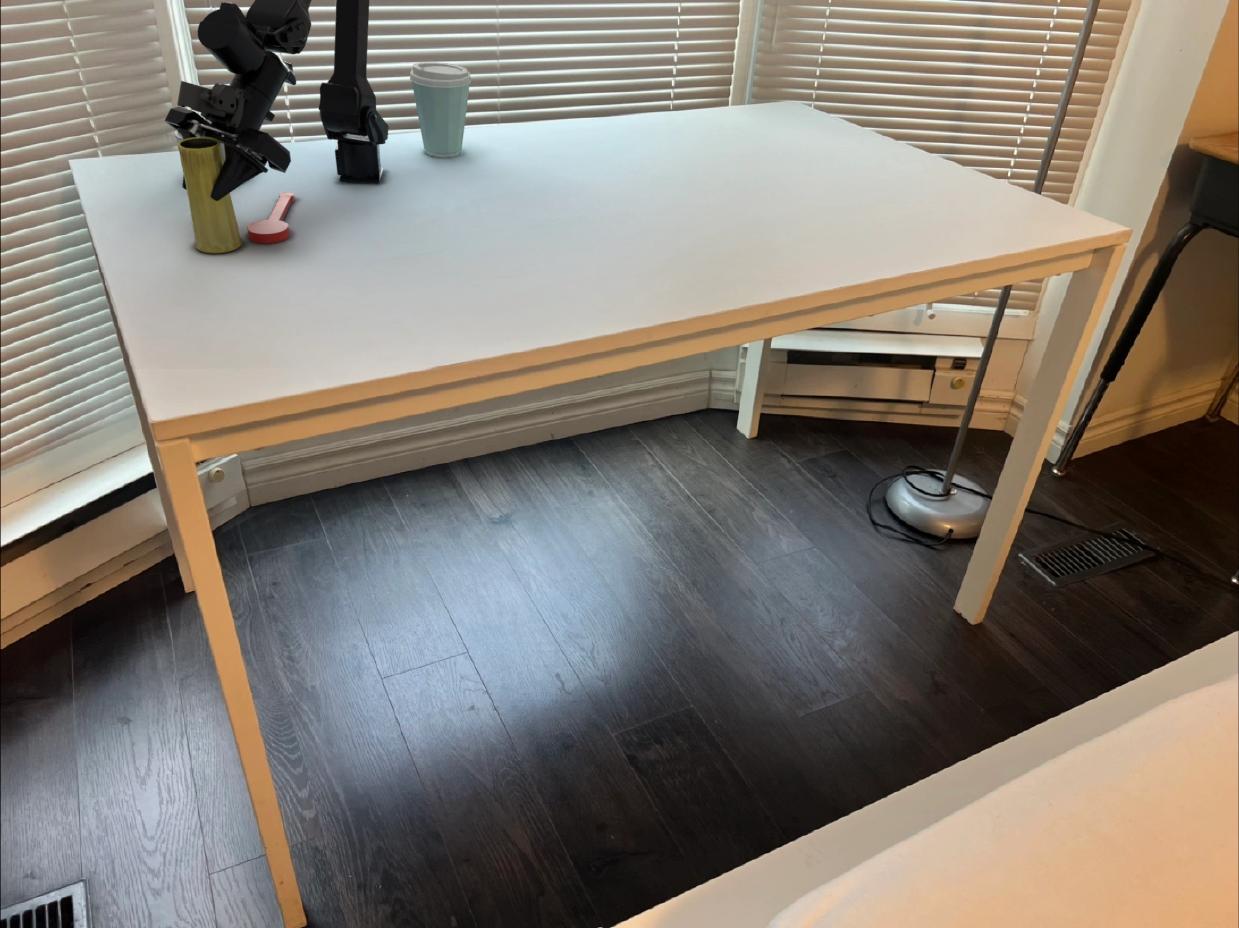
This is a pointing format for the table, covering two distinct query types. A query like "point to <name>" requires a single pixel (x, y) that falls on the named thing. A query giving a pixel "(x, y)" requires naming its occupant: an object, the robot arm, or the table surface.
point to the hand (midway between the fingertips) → (199, 194)
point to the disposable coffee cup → (441, 105)
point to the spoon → (272, 223)
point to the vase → (208, 196)
